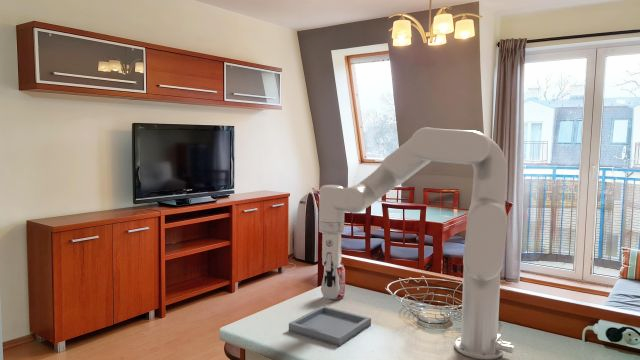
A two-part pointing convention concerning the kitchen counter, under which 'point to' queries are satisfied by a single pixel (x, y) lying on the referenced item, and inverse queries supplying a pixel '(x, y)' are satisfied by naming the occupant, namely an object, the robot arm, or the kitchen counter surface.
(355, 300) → the kitchen counter surface
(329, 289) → the salt shaker
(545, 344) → the kitchen counter surface
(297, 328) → the tray
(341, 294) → the soda can
